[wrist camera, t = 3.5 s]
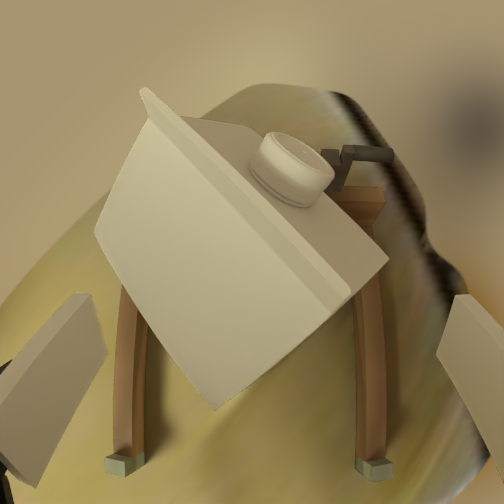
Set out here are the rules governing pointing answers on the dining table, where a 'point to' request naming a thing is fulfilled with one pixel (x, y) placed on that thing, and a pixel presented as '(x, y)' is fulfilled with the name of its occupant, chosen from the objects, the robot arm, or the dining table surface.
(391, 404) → the dining table surface
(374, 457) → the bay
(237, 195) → the milk carton
